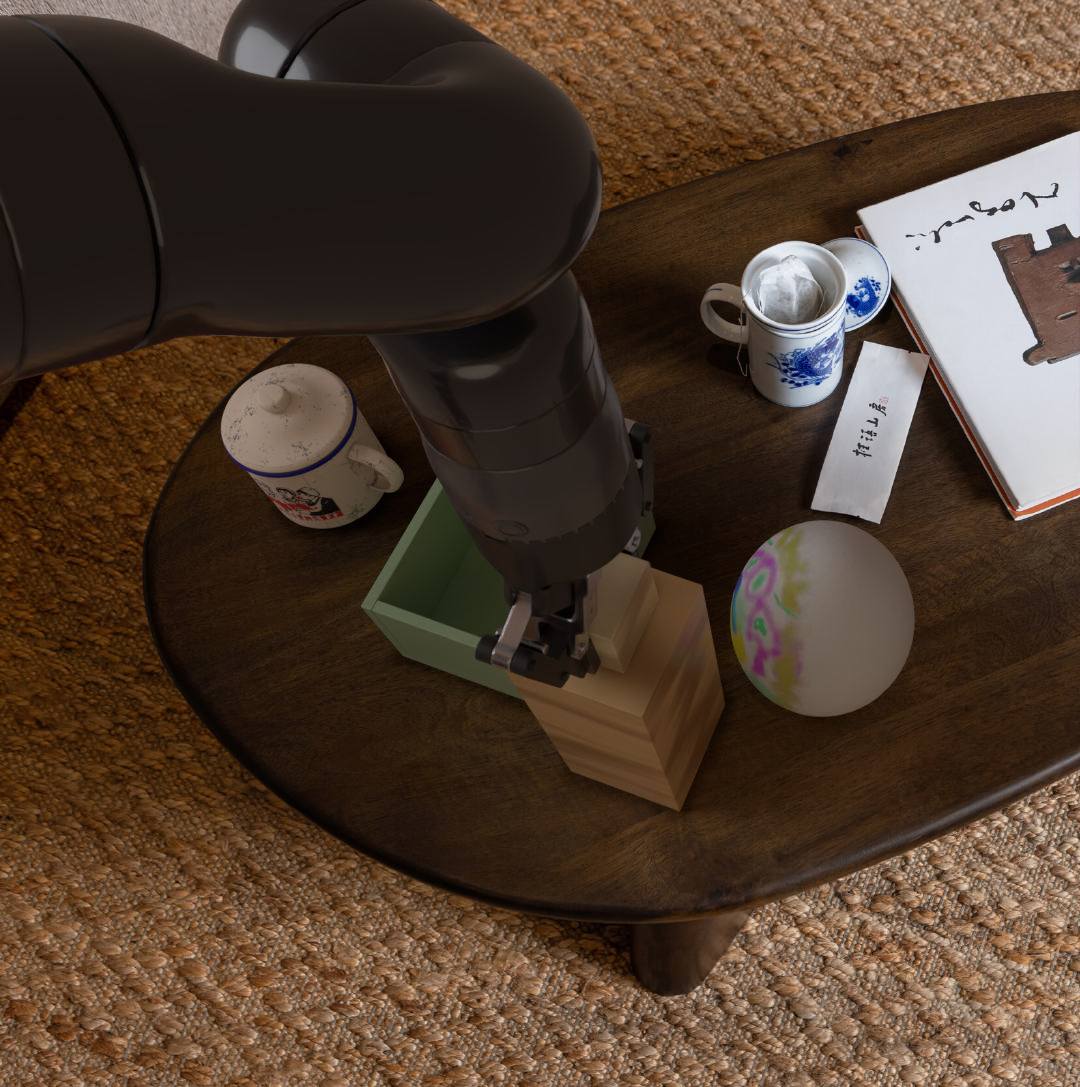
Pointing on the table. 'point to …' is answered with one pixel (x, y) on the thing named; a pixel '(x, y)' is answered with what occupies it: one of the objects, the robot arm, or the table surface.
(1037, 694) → the table surface
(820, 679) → the decorative egg
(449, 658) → the chest
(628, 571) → the block
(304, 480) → the teacup with lid
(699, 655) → the stand
